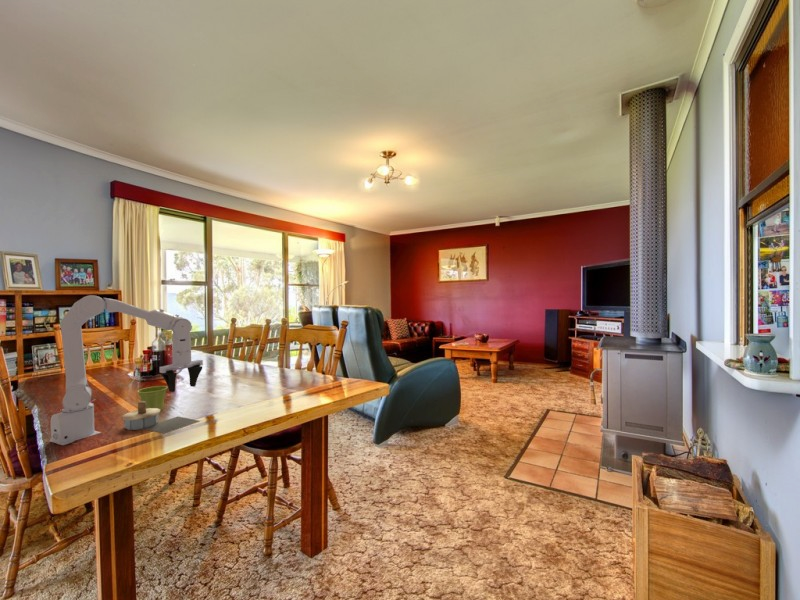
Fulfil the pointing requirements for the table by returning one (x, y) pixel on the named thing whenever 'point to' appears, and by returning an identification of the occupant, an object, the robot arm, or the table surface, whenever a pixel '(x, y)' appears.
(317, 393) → the table surface
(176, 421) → the mat
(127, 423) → the bowl
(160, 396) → the plant pot
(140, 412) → the lid
